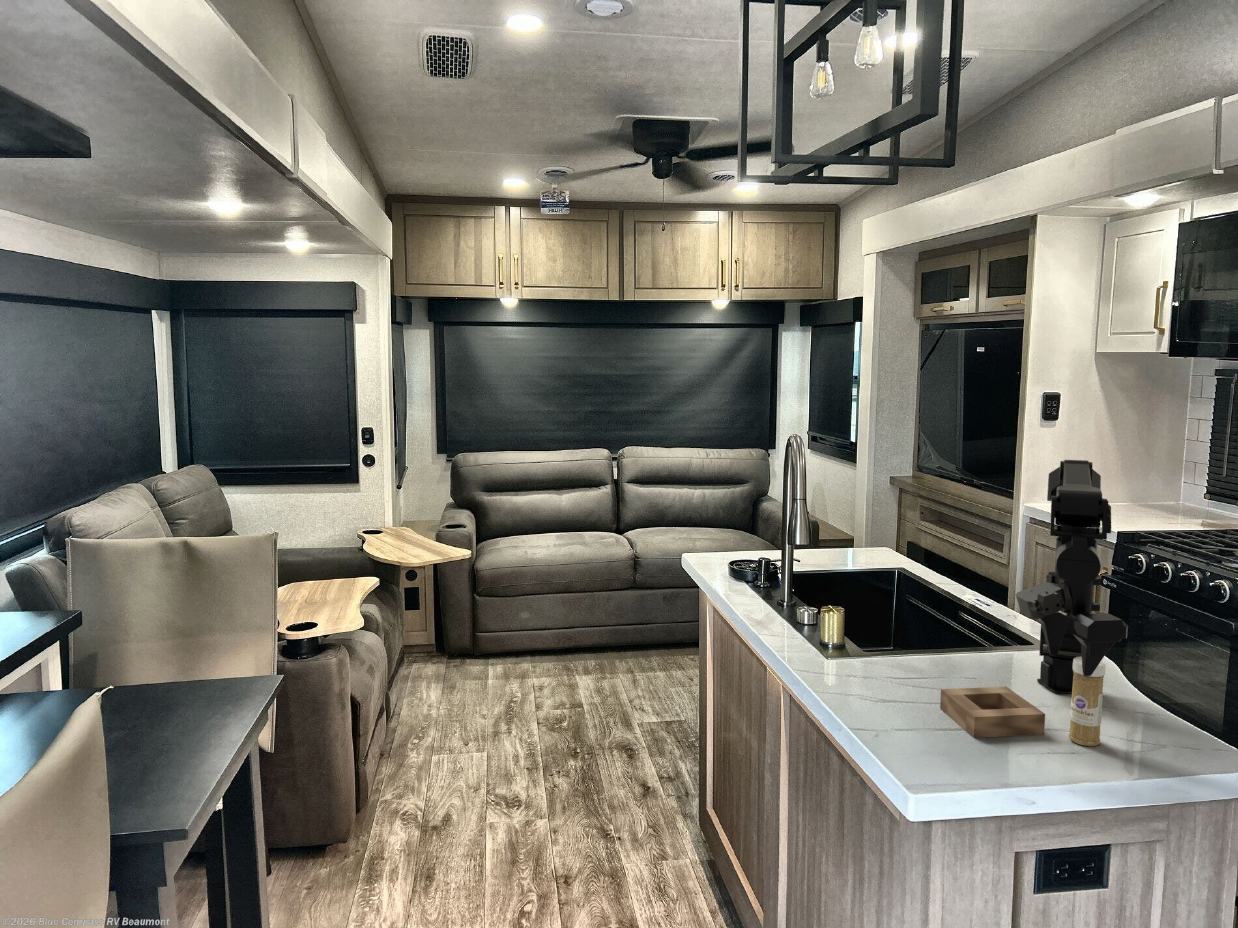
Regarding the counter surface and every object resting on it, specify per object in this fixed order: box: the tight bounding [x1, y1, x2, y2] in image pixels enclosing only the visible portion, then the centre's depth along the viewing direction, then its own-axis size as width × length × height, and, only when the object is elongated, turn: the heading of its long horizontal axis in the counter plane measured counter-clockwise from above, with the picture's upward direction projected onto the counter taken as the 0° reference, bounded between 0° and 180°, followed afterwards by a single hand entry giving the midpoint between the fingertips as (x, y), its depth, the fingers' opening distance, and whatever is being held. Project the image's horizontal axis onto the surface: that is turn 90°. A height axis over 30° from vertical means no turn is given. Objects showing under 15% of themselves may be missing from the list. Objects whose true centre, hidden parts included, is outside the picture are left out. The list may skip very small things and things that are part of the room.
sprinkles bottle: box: [1068, 657, 1106, 747], centre depth 138 cm, size 5×5×14 cm
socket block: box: [939, 686, 1046, 738], centre depth 146 cm, size 12×12×4 cm
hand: (1069, 664), depth 137 cm, fingers open, 9 cm apart
